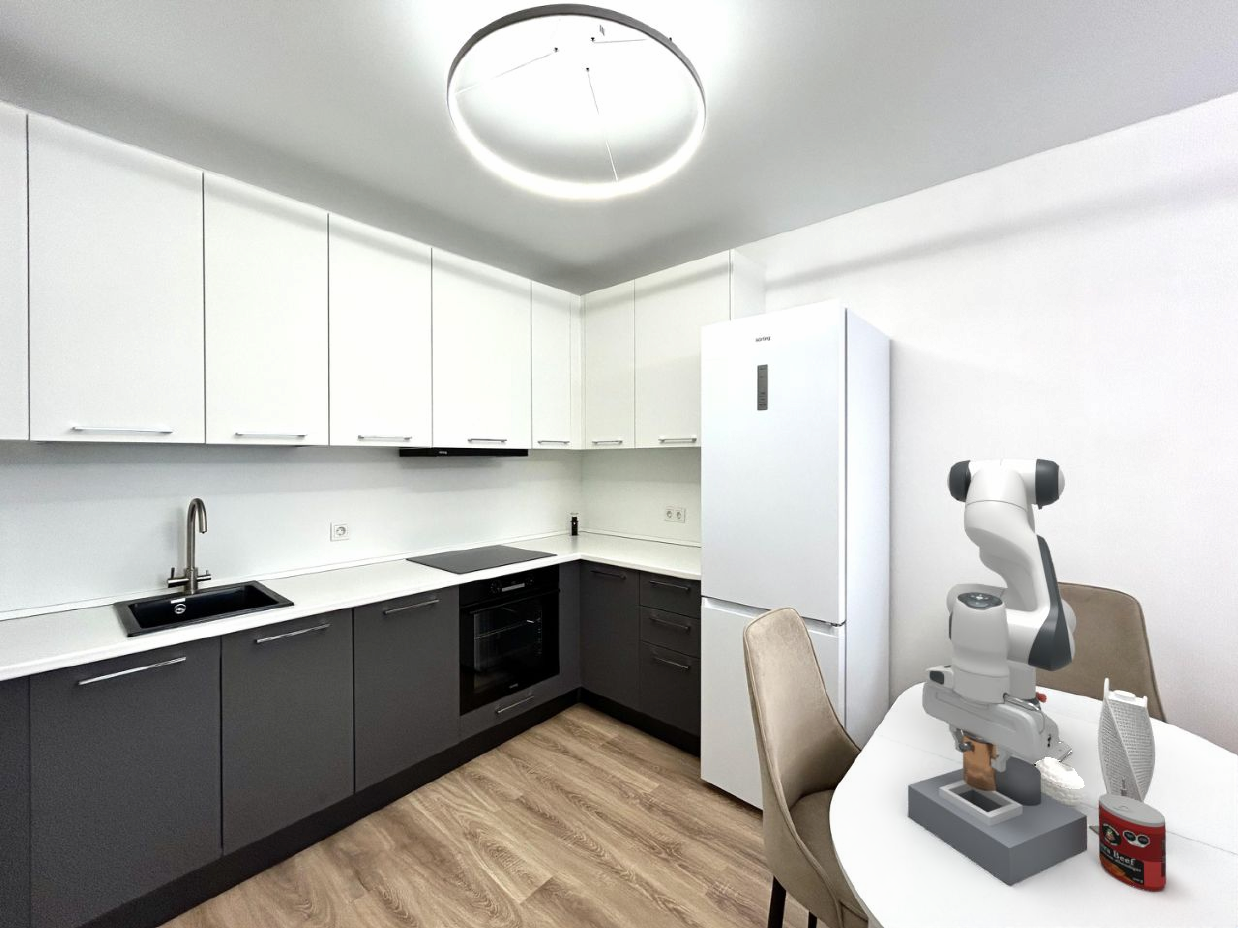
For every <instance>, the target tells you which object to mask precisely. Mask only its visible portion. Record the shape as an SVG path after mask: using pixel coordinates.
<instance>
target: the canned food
mask: <svg viewBox="0 0 1238 928" xmlns="http://www.w3.org/2000/svg"><path fill="white" fill-rule="evenodd" d="M1166 825H1167V823H1166V819H1165V816H1164V814H1162V812H1160V811H1159V810H1158V809H1156V808H1154V807H1153V806H1151V805H1150V804H1147V803H1145V802H1144V803H1143V802H1140V801H1138V800H1135V799H1132V798H1129V797H1125V796H1121V795H1115V794H1106V793H1104V794H1101V795H1100V796H1099V799H1098V826H1099V835H1098V853H1099V854H1098V857H1099V862H1100V864H1101V866H1102V867H1103V869H1104V870H1105V871H1106V872H1107V873H1108V874H1109V875H1111V876H1112V877H1114V878H1115V879H1116V880H1118V881H1120V882H1122V883H1124V884H1126V885H1128V886H1130V885H1131V886H1130V887H1133V886H1134V887H1133V888H1136V889H1139V890H1142V889H1144V890H1143V891H1147V890H1149V891H1148V892H1160V891H1162V890H1164V888H1165V886H1166V884H1167V855H1166V854H1167V847H1166V846H1167V839H1166V838H1167V837H1166V835H1167V833H1166V832H1167V828H1166ZM1159 890H1160V891H1159Z"/></svg>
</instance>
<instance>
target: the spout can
mask: <svg viewBox="0 0 1238 928" xmlns="http://www.w3.org/2000/svg"><path fill="white" fill-rule="evenodd" d="M961 732H962V735H963V743H960V744H959V749H960V750H961V751H962V752H963V753H962V768H963V780H964V781H965V782H966V783H967V784H968V785H970V786H972V787H974V788H976V789H979V790H983V791H995V790H996V770H995V769H993V768H992V767H991V764H992V763H991V758H995V757H996V746H995V745H993V744H991V743H989V742H987V741H985V740H984V739H982V738H979V737H977V736H975V735H973V734H971V733H969V732H966V731H964V730H962V731H961Z"/></svg>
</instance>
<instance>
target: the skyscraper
mask: <svg viewBox="0 0 1238 928" xmlns="http://www.w3.org/2000/svg"><path fill="white" fill-rule="evenodd" d="M1152 726H1153V725H1152V722H1151V717H1150V714H1149V710H1148V697H1147V695H1144V696H1143V698H1142V697H1138V696H1136V695H1135V694H1134V693H1132V692H1130V691H1129V692H1128V691H1126V690H1125V691H1124V690H1118V689H1117V690H1113V691H1111V690H1110V678H1108V677H1106V678H1105V679H1104V685H1103V700H1102V705H1101V711H1100V715H1099V722H1098V730H1097V731H1098V733H1097V735H1098V736H1097V742H1098V743H1097V744H1098V745H1097V746H1098V748H1097V749H1098V756H1099V763H1100V769H1101V774H1102V777H1103V778H1102V779H1103V783H1104V786H1105V789H1106V793H1105V794H1115V795H1121V796H1125V797H1129V798H1132V799H1135V800H1138V801H1140V802H1143V803H1145V802H1144V801H1145V798H1146V796H1147V794H1148V792H1149V789H1150V786H1151V783H1152V780H1153V776H1154V771H1155V765H1156V764H1155V763H1156V742H1155V736H1154V731H1153V727H1152ZM1088 829H1090V830H1091V831H1092V832H1093V833H1095V834H1096V835H1097V836H1099V825H1088Z"/></svg>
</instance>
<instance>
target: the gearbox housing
mask: <svg viewBox="0 0 1238 928" xmlns="http://www.w3.org/2000/svg"><path fill="white" fill-rule="evenodd" d="M999 755H1000V754H996V757H999ZM907 786H908V787H907V788H908V789H907V791H908V793H907V794H908V795H907V817H908V818H910V819H911V820H913V821H914V822H915V823H917V824H919V825H920V826H921V827H923V828H924V829H925V830H927V831H928V832H930V833H931V834H933V835H934V836H936V838H937V837H938V838H939V839H940V840H941V841H943V842H944V843H946V844H947V845H949V846H950V847H952V848H953V849H955V850H956V851H958V852H959V853H960V854H962V855H964V857H966V858H968V859H970V861H972V862H974V863H976V864H977V865H978V866H980V867H981V868H982V869H984V870H986V871H987V872H989V874H991V875H993V876H995V877H996V878H997V879H999V880H1000V881H1001V882H1003V883H1005V885H1008V886H1009V887H1011V886H1012V885H1015V884H1017V883H1019V882H1021V881H1024V880H1025V879H1028V878H1030V877H1032V876H1035V875H1036V874H1038V873H1040V872H1043V871H1045V870H1048V869H1049V868H1051V867H1053V866H1056V865H1058V864H1061V863H1062V862H1064V861H1066V860H1068V859H1070V858H1072V857H1075V856H1077V855H1079V854H1081V853H1084V852H1085V851H1088V815H1087V814H1085V813H1083V812H1081V811H1079V810H1077V809H1075V808H1073V807H1071V806H1069V805H1068V804H1065V803H1063V802H1061V801H1059V800H1057V799H1055V798H1053V797H1051V796H1049V795H1047V794H1046V793H1044V792H1042V772H1041V771H1040V769H1039V768H1038V767H1036V765H1033V764H1030V763H1028V762H1026V761H1024V760H1022V759H1019V758H1016V757H1012V756H1010V758H1009V759H1008V760H1007V761H1006V769H1005V771H1003V772H999V771H997V770H996V790H995V791H983V790H979V789H976V788H974V787H972V786H970V785H968V784H967V783H966V782H965V781H964V780H963V767H962V768H959V769H956V770H953V771H950V772H946V773H943V774H940V775H936V776H934V777H930V778H927V779H924V780H920V781H917V782H915V783H911V784H910V783H909V784H908V785H907Z"/></svg>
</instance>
